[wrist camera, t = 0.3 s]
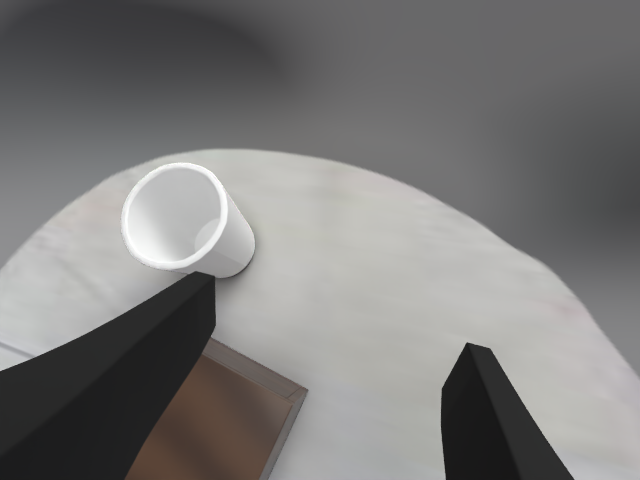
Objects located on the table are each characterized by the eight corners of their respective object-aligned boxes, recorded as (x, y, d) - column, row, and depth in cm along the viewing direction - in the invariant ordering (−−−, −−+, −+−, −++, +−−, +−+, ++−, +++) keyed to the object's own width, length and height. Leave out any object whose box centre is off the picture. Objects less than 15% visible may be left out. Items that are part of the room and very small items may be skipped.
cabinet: (244, 531, 36) (208, 589, 28) (136, 459, 39) (74, 493, 31) (308, 389, 39) (293, 404, 31) (202, 332, 42) (162, 332, 33)
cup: (226, 193, 46) (175, 141, 34) (283, 241, 43) (250, 204, 31) (171, 253, 45) (97, 222, 32) (226, 306, 42) (169, 294, 30)
